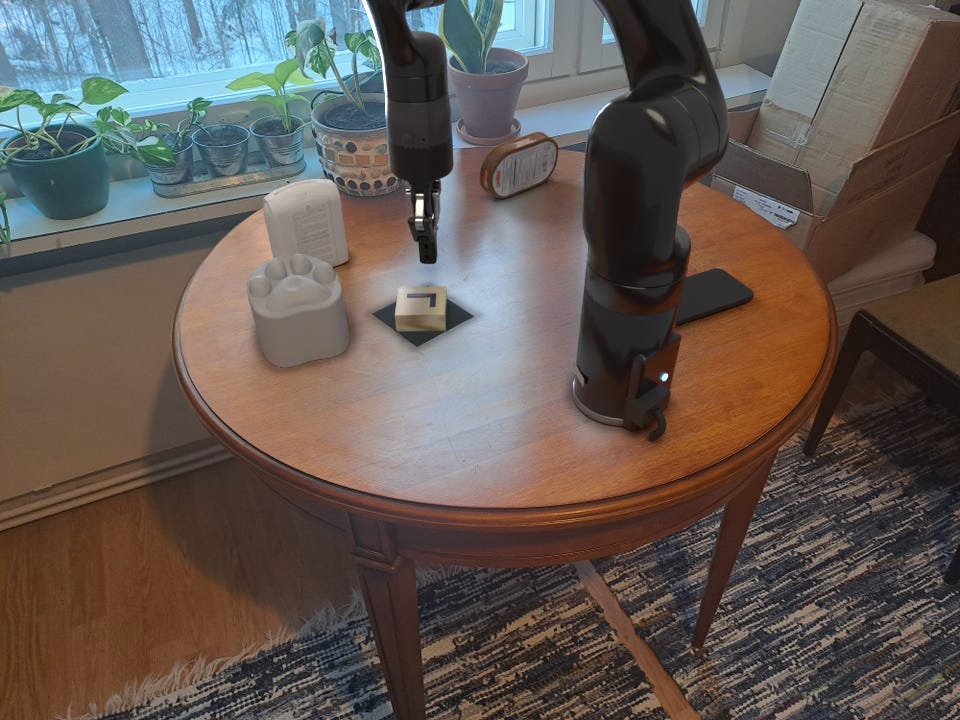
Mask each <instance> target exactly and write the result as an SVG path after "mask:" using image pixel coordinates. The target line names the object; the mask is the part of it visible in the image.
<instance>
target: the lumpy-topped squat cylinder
mask: <svg viewBox="0 0 960 720" xmlns="http://www.w3.org/2000/svg"><path fill="white" fill-rule="evenodd" d="M334 268H335V267H332V266H331V265H330V264H329V263H326V262H324V261H322V260H320V259H318V258H316V257H313V256H309V255H304V254H296V253H289V254H283V255H279V256H276V257H274V258H273V257H271V258H270V259H268V260H266V261H265V262H262V264H260V265H259V266H257V268H256V269H255V270H254V271H253V272H252V273H251V275H250V277H249V278H248V280H247V281H246V282H247V283H246V294H247V298H248V303H249V306H250V311H251V314H252V318H253V322H254V325H255V329H256V333H257V337H258V340H259V344H260V348H261V350H262V353H263V356H264V357H265V359H266V360H267V362H268V363H269V364H271V365H273V366H275V367H278V368H284V369H285V368H286V369H287V368H293V367H298V366H300V365H304V364H306V363H309V362H313V361H317V360H318V361H319V360H324V359H330V358H334V357H337V356H340V355H341V354H342V353H345V352H346V350H347V349H348V347H349V345H350V343H351V338H350V331H349V325H348V319H347V313H346V308H345V301H344V294H343V288H342V284H341V280H340V277H339V276H338V274H337V272H336V270H335V269H334Z"/></svg>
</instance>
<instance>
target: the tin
mask: <svg viewBox="0 0 960 720" xmlns="http://www.w3.org/2000/svg"><path fill="white" fill-rule="evenodd" d="M558 159H559V145H558V143H557V142H556V140H555V139H553V138H552V137H551V136H548V135H547V134H546V133H545V132H542V131H535V132H532V133H529V134H526V135H523V136H520V137H517V138H514V139H512V140H508V141H505V142H502V143H499V144H497V145H496V146H495V147H493V148H492V149H490V151H489V152H488V153H487V155H486V156H485V157H484V159H483V162H482V163H481V166H480V170H479V184H480V186H481V187H480V188H482V191H484V192H485V193H487V194H490V195H491V196H493V197H495V198H496V199H507V198H510V197H512V196H515V195H517V194H520V193H523V192H525V191H528V190H530V189H533V188H536V187H538V186H541V185H543V184H544V183H546V181H547V180H549V178H550V177H551V176H552V174H553V173H554V171H555V169H556V167H557V163H558Z"/></svg>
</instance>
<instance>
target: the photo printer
mask: <svg viewBox="0 0 960 720" xmlns="http://www.w3.org/2000/svg"><path fill="white" fill-rule="evenodd" d="M342 206H343V205H342V199H341V194H340V192H339V188H338V186H337V184H336V183H335V182H333V180H331V179H326V178H311V179H305V180H299V181H295V182H292V183H288V184H286V185H283V186H281V187H278V188H277V189H275V190H273V191H272V192H270V193H268V194H266V195H265V196H264V197H263V198H262V208H263V217H264V221H265V226H266V230H267V235H268V240H269V245H270V250H271V254H272V258H274V257H276V256H279V255H283V254H289V253H296V254H304V255H309V256H313V257H316V258H318V259H320V260H322V261H324V262H326V263H329V264H330V265H331V266H332V267H333V268H335V267H337V266H340V265H343V264H346V263H347V262H349V251H348V244H347V236H346V230H345V222H344V215H343V207H342Z"/></svg>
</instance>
